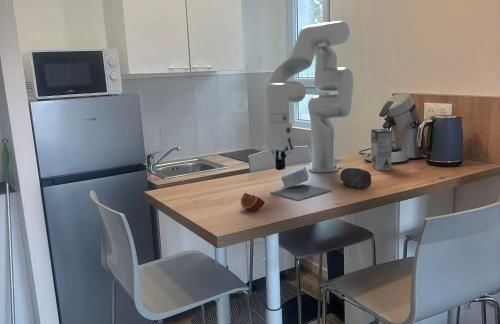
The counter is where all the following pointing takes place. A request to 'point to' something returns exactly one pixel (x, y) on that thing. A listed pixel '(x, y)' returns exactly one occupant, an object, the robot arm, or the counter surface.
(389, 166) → the coffee box
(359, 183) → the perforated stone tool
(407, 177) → the counter surface
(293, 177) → the medicine box
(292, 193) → the mat
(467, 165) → the counter surface
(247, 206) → the fruit slice
